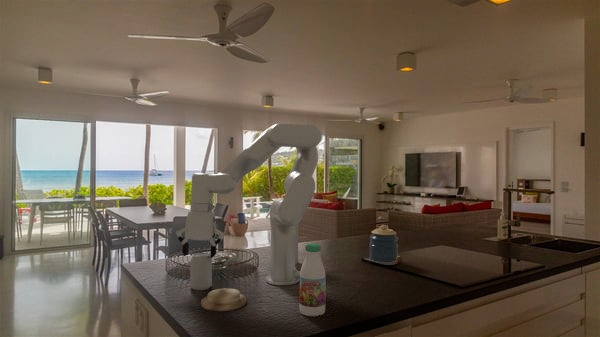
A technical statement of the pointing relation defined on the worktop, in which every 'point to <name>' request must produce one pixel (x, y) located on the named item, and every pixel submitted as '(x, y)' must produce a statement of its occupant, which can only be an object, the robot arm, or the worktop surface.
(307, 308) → the milk bottle
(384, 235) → the canister
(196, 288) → the can
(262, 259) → the worktop surface
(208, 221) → the robot arm
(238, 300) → the plinth
